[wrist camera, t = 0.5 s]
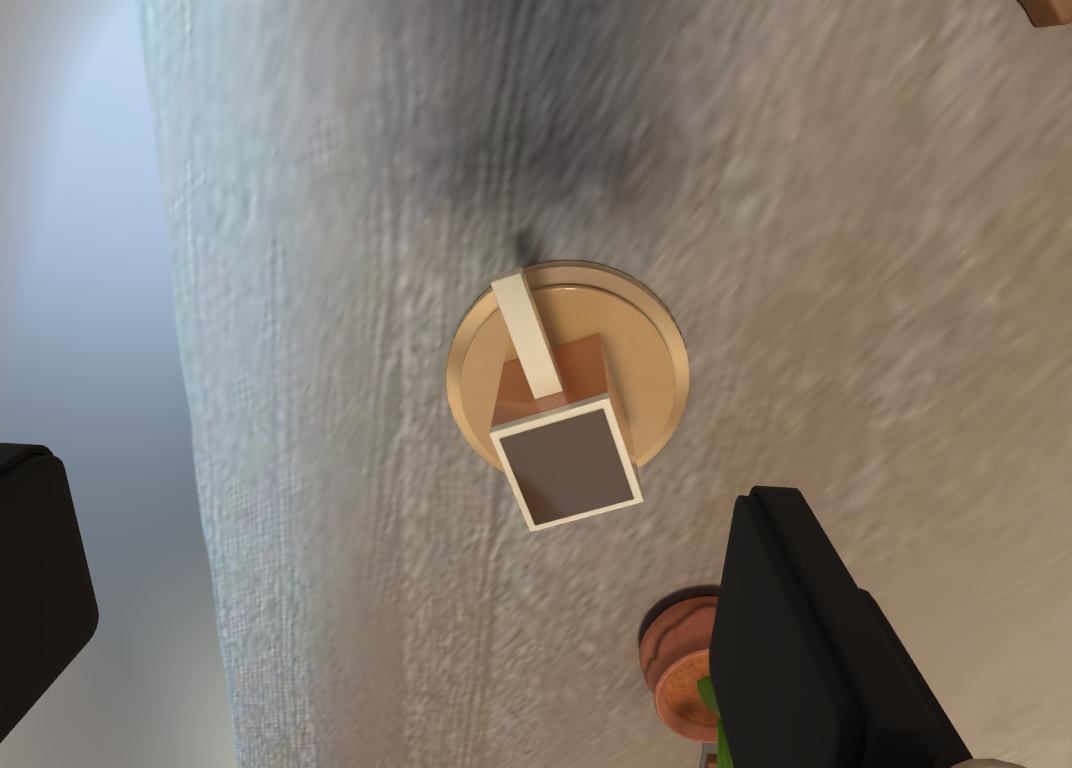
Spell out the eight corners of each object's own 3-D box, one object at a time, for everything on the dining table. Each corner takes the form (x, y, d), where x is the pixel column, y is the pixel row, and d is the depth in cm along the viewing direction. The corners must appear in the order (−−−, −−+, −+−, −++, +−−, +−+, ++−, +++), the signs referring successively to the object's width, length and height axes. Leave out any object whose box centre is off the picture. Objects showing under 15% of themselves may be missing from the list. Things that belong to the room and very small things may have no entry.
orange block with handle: (697, 447, 45) (730, 541, 36) (504, 501, 47) (490, 602, 38) (626, 205, 39) (644, 245, 30) (409, 279, 41) (365, 337, 32)
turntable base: (455, 247, 42) (452, 252, 40) (707, 274, 42) (712, 281, 40) (443, 466, 48) (440, 476, 46) (663, 489, 48) (666, 500, 47)
